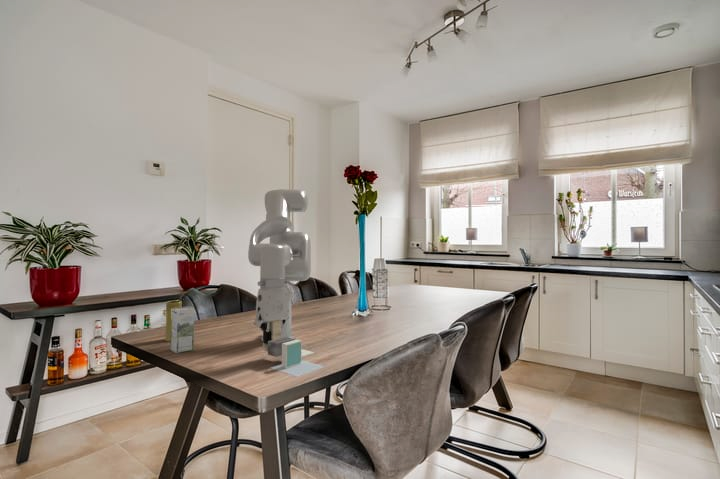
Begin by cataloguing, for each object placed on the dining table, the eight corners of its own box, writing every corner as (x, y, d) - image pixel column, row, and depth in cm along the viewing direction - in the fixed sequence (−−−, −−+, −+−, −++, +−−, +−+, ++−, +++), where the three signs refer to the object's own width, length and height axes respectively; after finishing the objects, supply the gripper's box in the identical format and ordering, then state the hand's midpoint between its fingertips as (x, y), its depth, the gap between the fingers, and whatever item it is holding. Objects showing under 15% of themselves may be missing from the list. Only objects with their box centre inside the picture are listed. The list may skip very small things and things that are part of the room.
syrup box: (187, 347, 135) (187, 305, 135) (194, 350, 131) (194, 307, 131) (170, 350, 131) (170, 307, 131) (176, 354, 127) (176, 310, 127)
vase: (160, 340, 143) (161, 302, 143) (174, 336, 149) (174, 299, 148) (173, 342, 141) (173, 303, 141) (186, 338, 146) (186, 301, 146)
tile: (281, 367, 113) (281, 343, 113) (296, 362, 118) (297, 339, 118) (286, 368, 112) (286, 344, 112) (301, 363, 117) (301, 340, 117)
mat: (269, 368, 113) (269, 367, 113) (297, 359, 122) (297, 358, 122) (297, 378, 106) (297, 376, 106) (325, 367, 114) (325, 366, 114)
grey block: (257, 351, 120) (257, 319, 120) (275, 346, 125) (275, 315, 125) (276, 357, 114) (276, 323, 114) (294, 351, 119) (294, 319, 119)
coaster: (286, 354, 127) (286, 352, 127) (299, 350, 132) (299, 348, 132) (300, 358, 123) (300, 356, 123) (314, 354, 128) (314, 352, 128)
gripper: (258, 287, 112) (257, 350, 112) (300, 282, 125) (299, 339, 125) (243, 285, 117) (242, 345, 117) (284, 281, 130) (284, 335, 129)
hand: (272, 341), depth 121 cm, fingers closed on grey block, 3 cm apart
